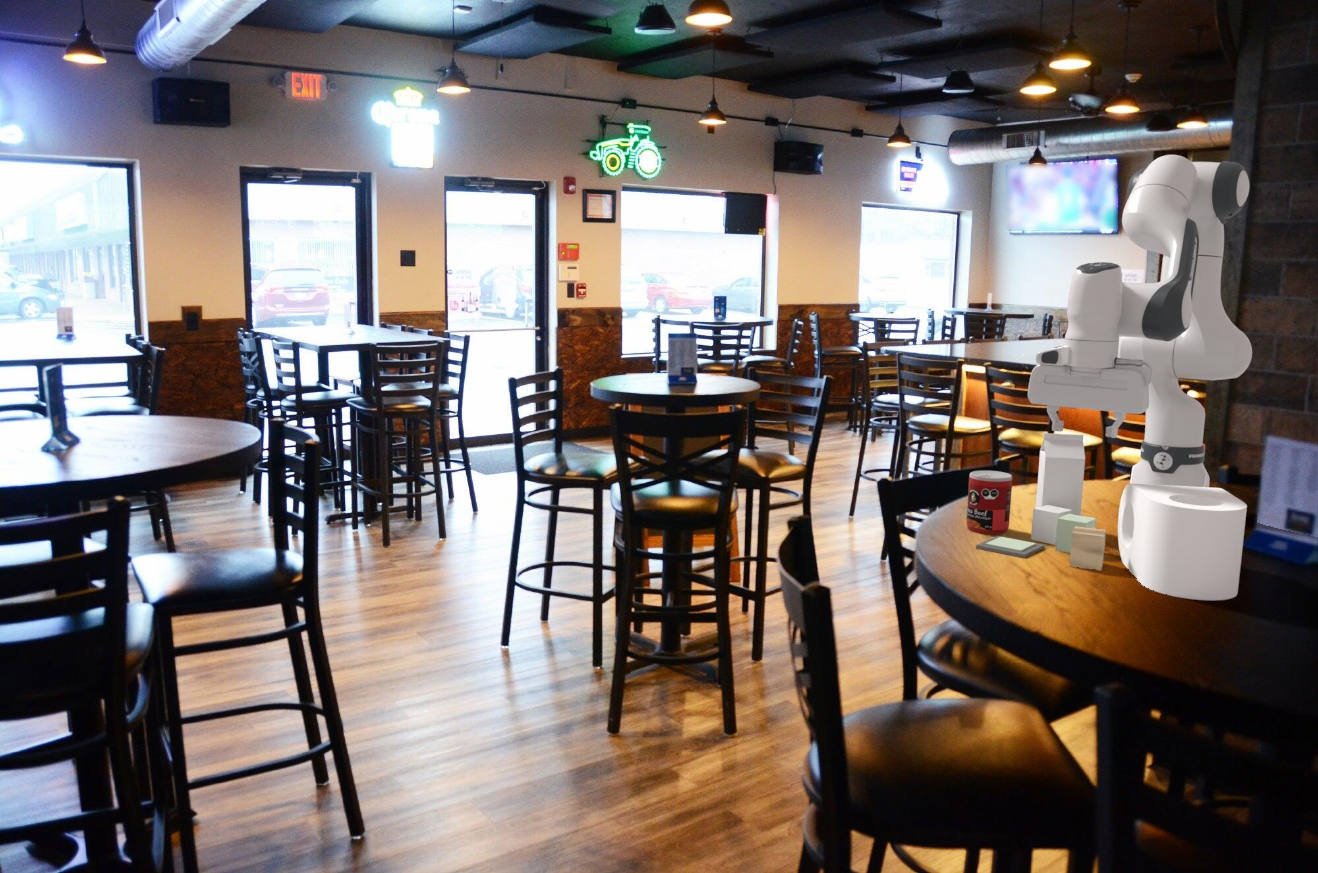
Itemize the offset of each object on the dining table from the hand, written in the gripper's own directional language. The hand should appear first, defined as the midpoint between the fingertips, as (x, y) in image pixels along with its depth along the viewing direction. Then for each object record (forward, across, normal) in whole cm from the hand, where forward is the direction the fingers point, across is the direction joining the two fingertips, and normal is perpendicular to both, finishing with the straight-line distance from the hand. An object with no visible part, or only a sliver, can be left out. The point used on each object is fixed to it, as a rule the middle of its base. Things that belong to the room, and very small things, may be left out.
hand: (1083, 434), depth 186 cm
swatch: (+21, +9, +7) cm, 24 cm away
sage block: (+21, 0, 0) cm, 21 cm away
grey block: (+21, +6, -4) cm, 23 cm away
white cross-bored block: (+22, -19, +4) cm, 29 cm away
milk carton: (+22, +8, -12) cm, 26 cm away
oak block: (+21, -5, +8) cm, 23 cm away
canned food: (+22, +18, -3) cm, 28 cm away
